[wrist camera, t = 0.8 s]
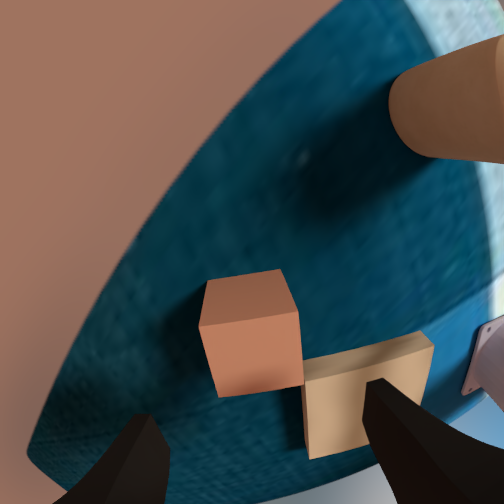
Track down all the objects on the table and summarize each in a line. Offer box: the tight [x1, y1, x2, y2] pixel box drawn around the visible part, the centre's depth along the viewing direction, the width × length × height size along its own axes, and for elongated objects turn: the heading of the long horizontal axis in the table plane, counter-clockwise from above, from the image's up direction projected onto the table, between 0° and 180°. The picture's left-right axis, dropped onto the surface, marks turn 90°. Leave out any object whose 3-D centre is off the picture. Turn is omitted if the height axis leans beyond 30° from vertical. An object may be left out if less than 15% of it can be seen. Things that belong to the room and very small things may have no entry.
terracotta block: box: [199, 269, 304, 397], centre depth 15 cm, size 4×4×5 cm
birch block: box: [301, 331, 434, 459], centre depth 19 cm, size 9×9×2 cm
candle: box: [389, 34, 504, 164], centre depth 10 cm, size 6×6×10 cm
